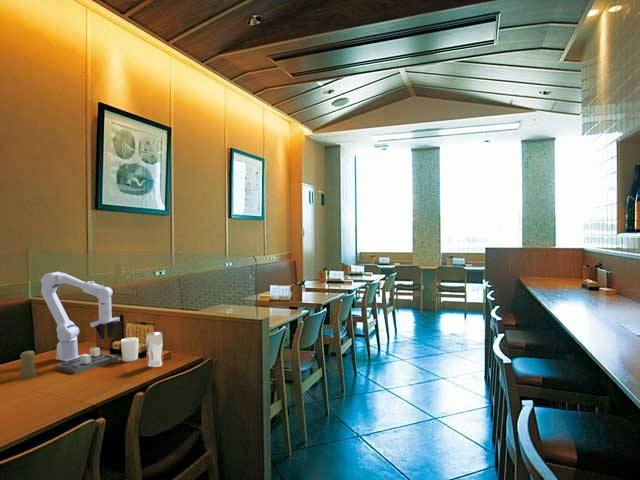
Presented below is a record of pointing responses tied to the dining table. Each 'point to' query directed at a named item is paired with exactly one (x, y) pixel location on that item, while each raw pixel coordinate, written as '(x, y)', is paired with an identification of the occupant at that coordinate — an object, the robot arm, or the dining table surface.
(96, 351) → the fader cream
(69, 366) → the console
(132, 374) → the dining table surface
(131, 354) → the white cup
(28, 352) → the tan bulb-headed cylinder
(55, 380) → the dining table surface
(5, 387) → the dining table surface
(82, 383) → the dining table surface
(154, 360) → the beer glass
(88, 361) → the fader bluegrey
